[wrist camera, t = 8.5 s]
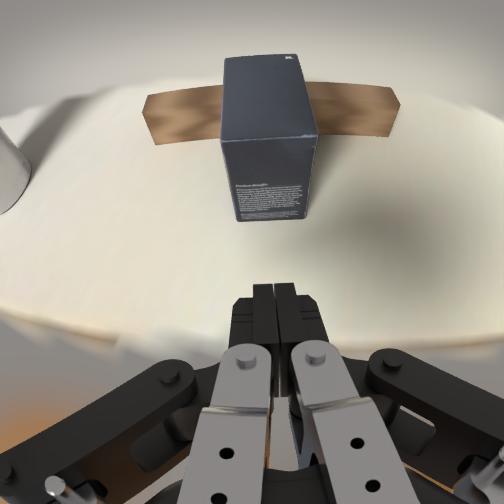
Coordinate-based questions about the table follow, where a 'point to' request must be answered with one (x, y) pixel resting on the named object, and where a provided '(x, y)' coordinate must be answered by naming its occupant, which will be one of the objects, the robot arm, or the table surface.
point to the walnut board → (321, 97)
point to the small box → (267, 136)
